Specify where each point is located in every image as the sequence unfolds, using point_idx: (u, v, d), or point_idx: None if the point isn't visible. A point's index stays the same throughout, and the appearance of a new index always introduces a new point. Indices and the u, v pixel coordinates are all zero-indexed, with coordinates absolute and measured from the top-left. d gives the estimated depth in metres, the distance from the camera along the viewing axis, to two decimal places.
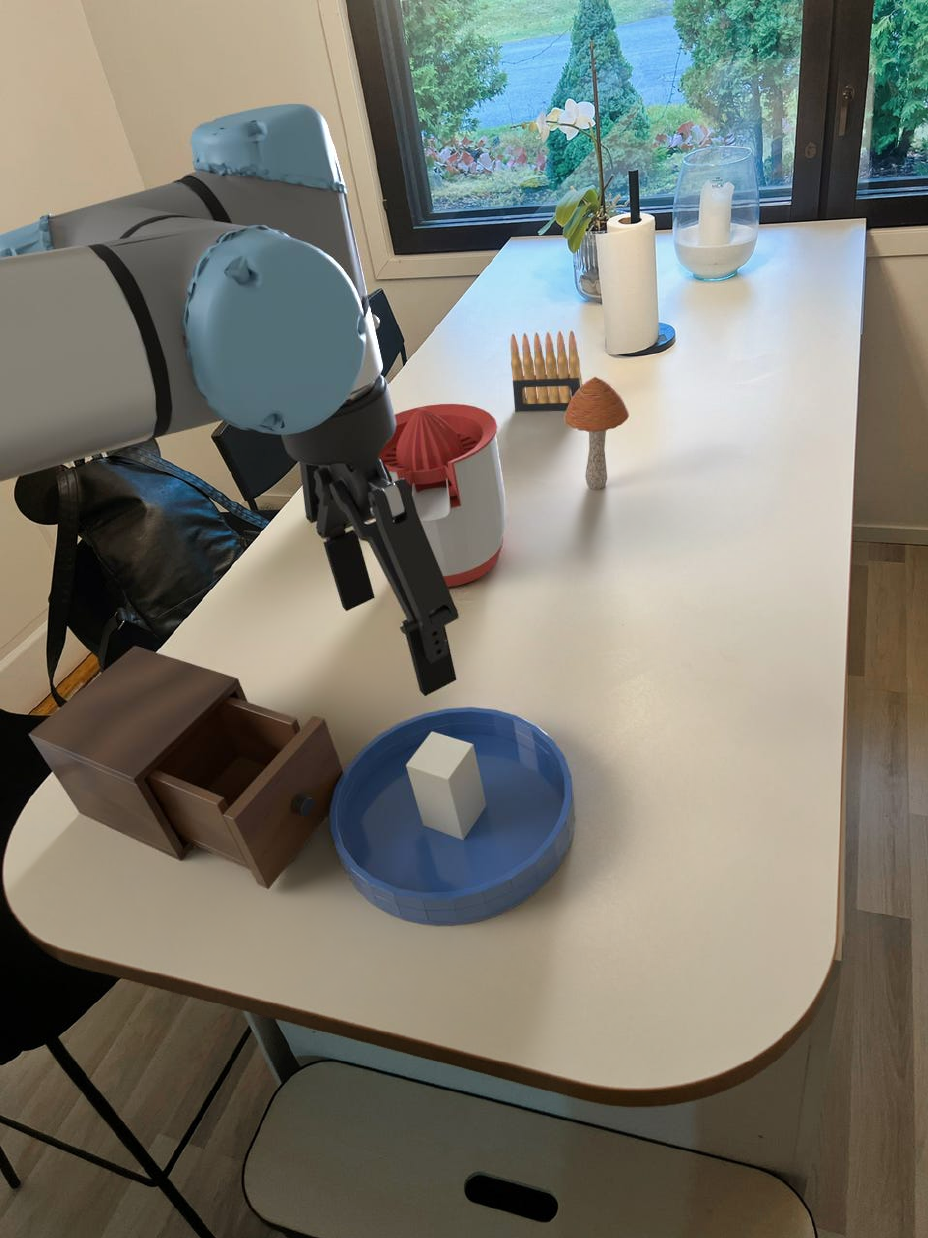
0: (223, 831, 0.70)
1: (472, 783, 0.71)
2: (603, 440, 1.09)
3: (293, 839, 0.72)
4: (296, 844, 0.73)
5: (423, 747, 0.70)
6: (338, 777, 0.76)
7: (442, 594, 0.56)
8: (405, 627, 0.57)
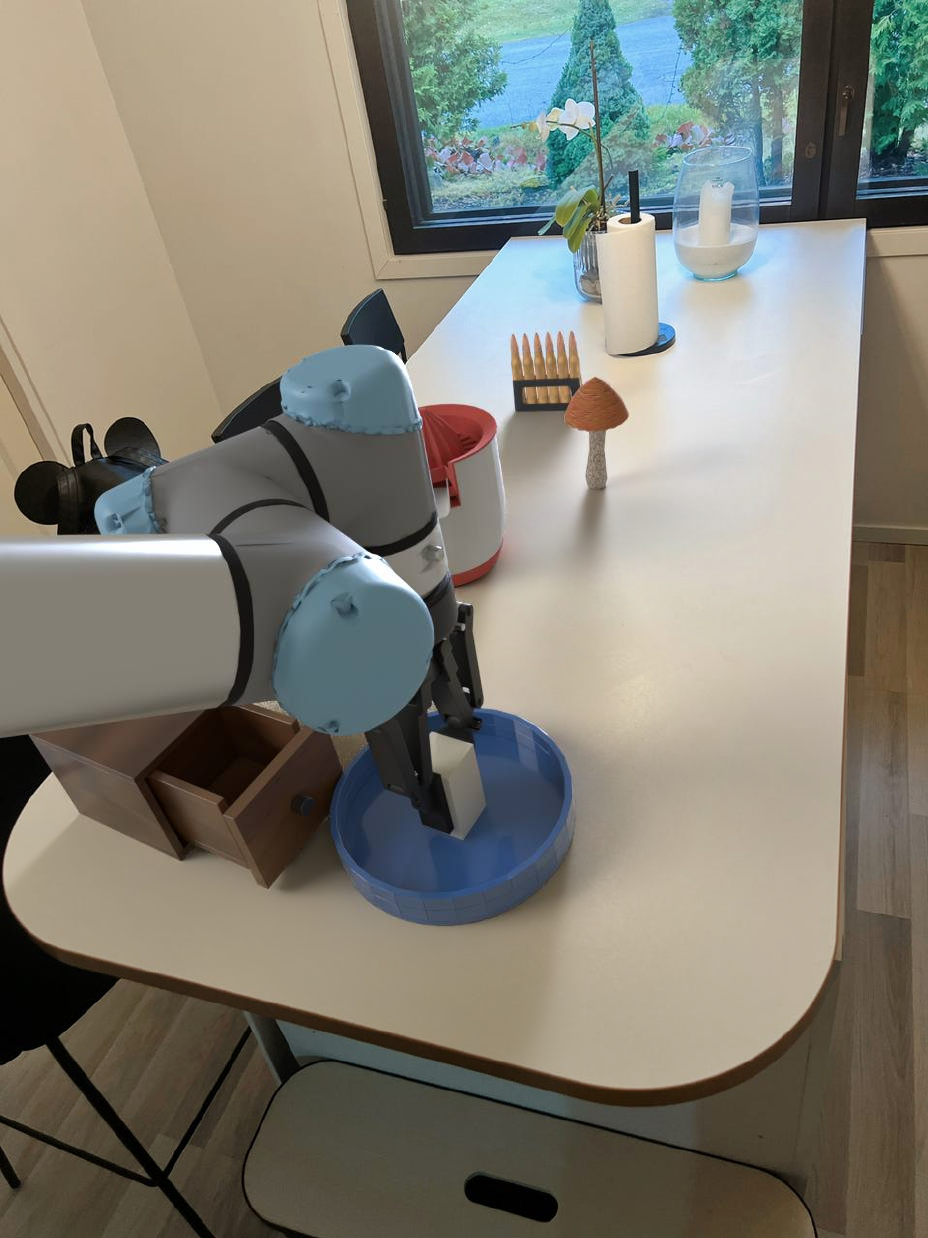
0: (223, 831, 0.70)
1: (472, 783, 0.71)
2: (603, 440, 1.09)
3: (293, 839, 0.72)
4: (296, 844, 0.73)
5: None
6: (338, 777, 0.76)
7: (400, 782, 0.63)
8: None
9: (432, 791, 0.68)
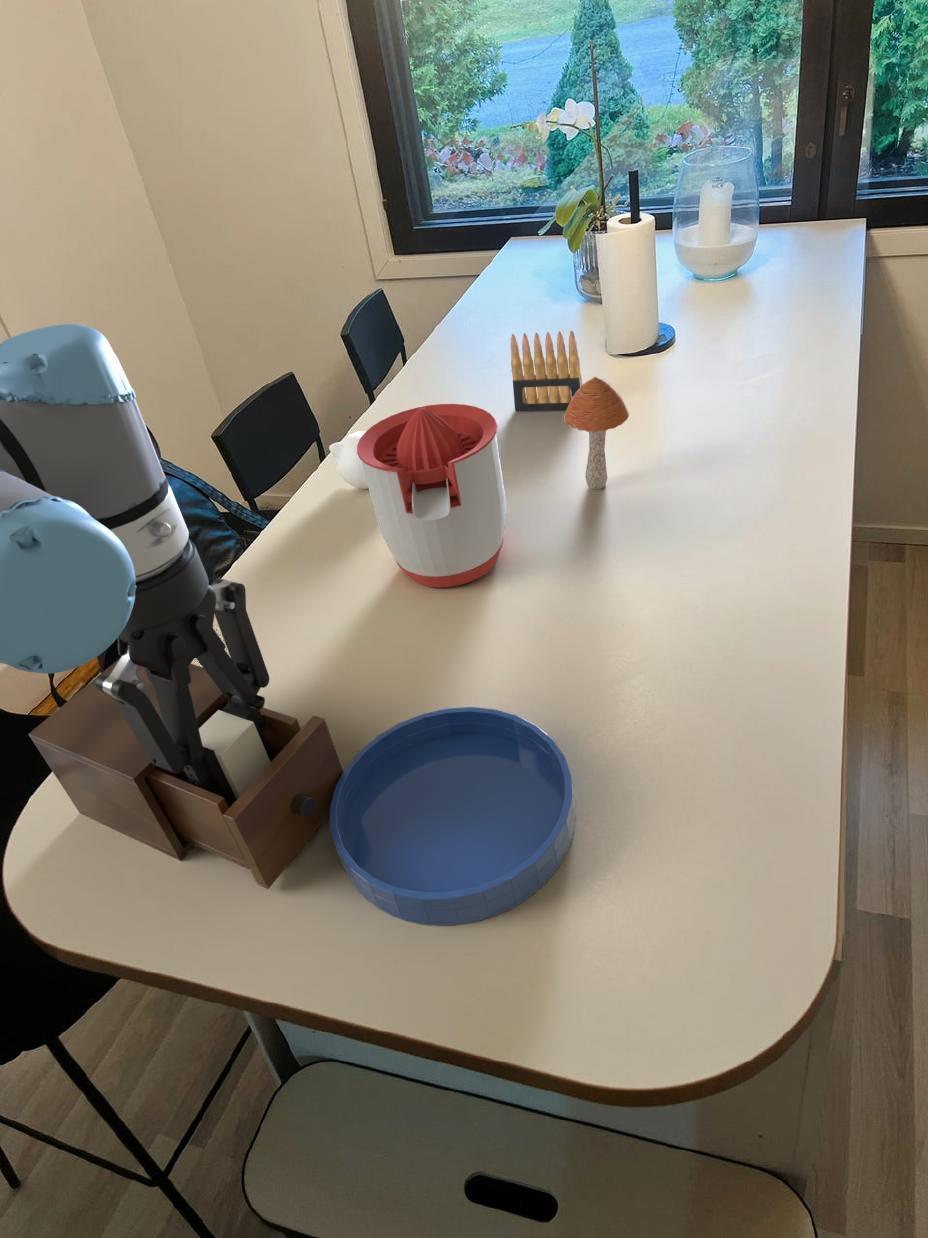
0: (223, 831, 0.70)
1: (255, 760, 0.72)
2: (603, 440, 1.09)
3: (293, 839, 0.72)
4: (296, 844, 0.73)
5: (206, 725, 0.71)
6: (338, 777, 0.76)
7: (161, 757, 0.65)
8: None
9: (207, 767, 0.69)
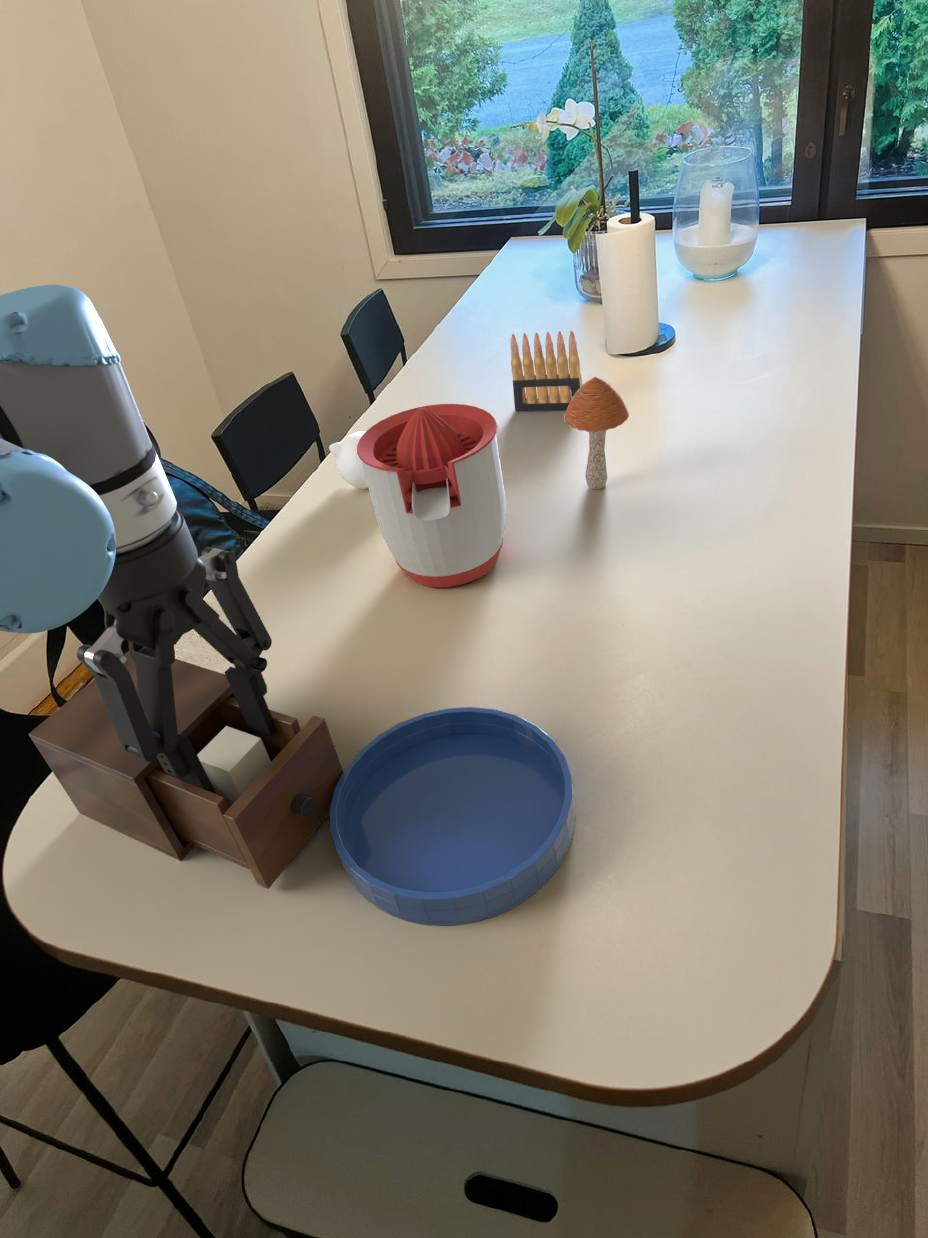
0: (223, 831, 0.70)
1: None
2: (603, 440, 1.09)
3: (293, 839, 0.72)
4: (296, 844, 0.73)
5: (214, 741, 0.73)
6: (338, 777, 0.76)
7: (134, 741, 0.62)
8: None
9: (182, 756, 0.67)
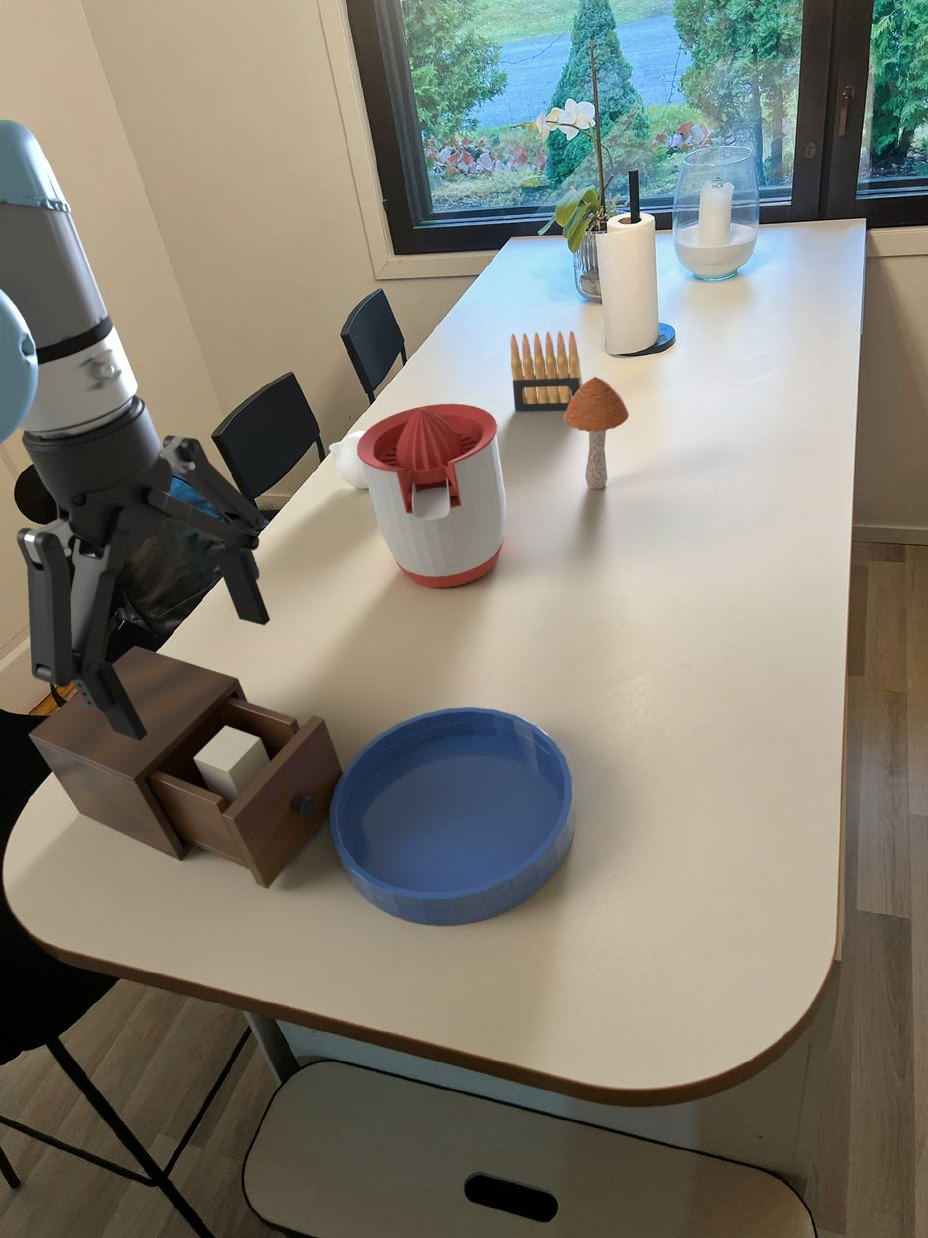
0: (222, 830, 0.70)
1: None
2: (603, 440, 1.09)
3: (292, 839, 0.72)
4: (295, 844, 0.73)
5: (213, 740, 0.73)
6: (337, 777, 0.76)
7: (50, 656, 0.54)
8: None
9: (105, 685, 0.58)
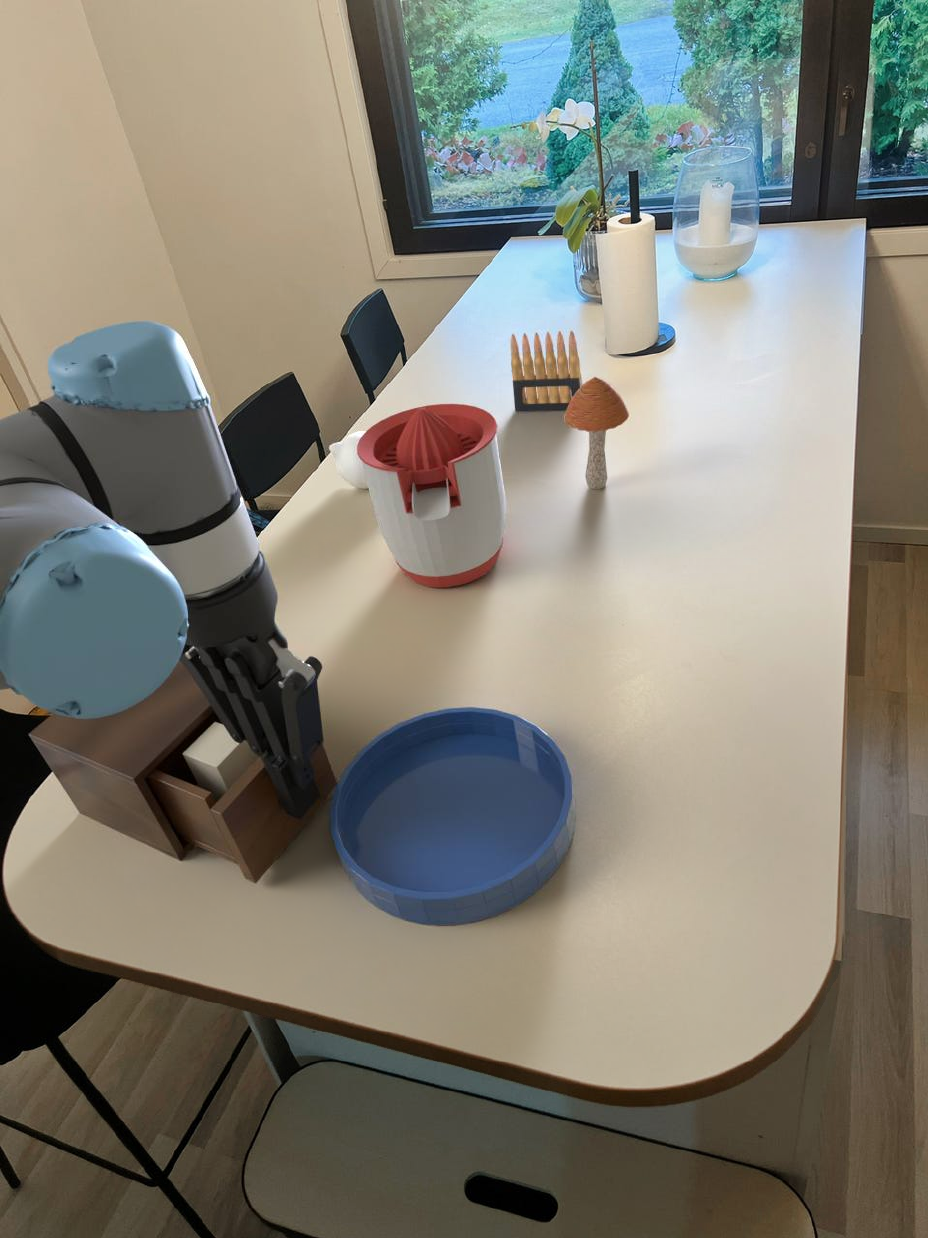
0: (211, 825, 0.70)
1: None
2: (603, 440, 1.09)
3: (281, 834, 0.73)
4: (284, 839, 0.73)
5: (202, 736, 0.73)
6: (326, 773, 0.76)
7: (318, 733, 0.64)
8: (280, 768, 0.65)
9: None
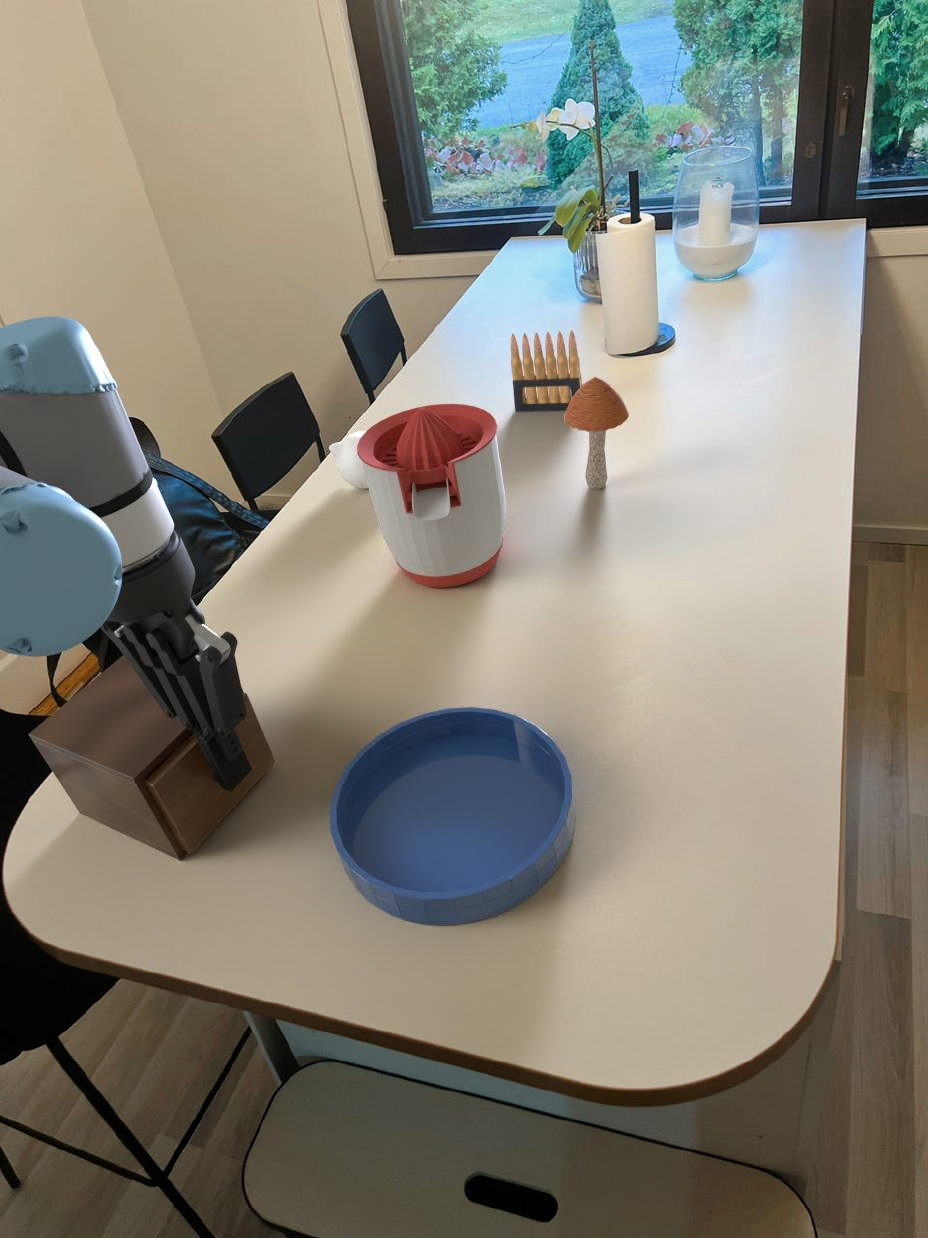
0: None
1: None
2: (603, 440, 1.09)
3: (217, 807, 0.76)
4: (220, 812, 0.77)
5: None
6: (263, 750, 0.80)
7: (240, 706, 0.68)
8: (206, 740, 0.68)
9: None
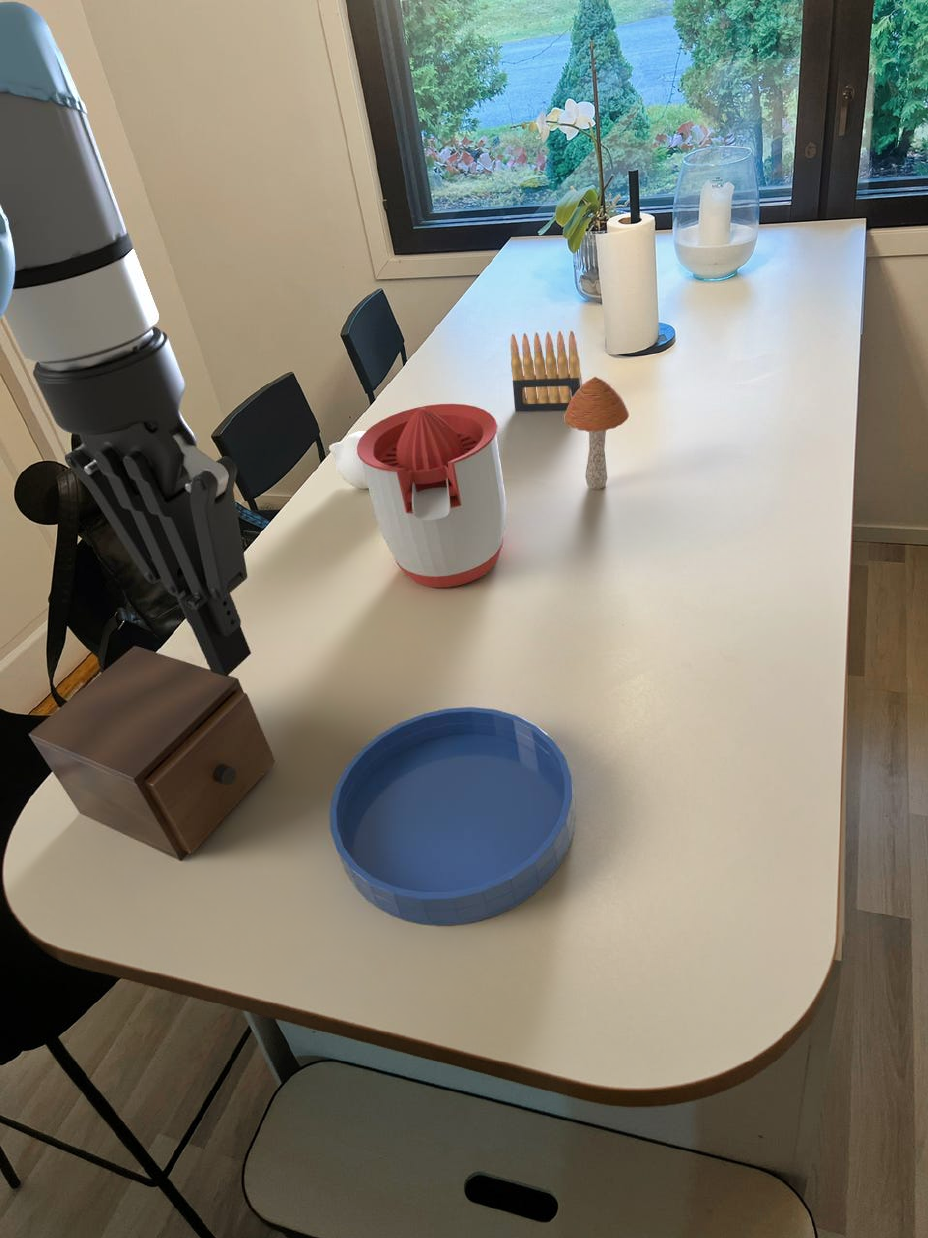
0: None
1: None
2: (603, 440, 1.09)
3: (217, 807, 0.76)
4: (220, 812, 0.77)
5: None
6: (263, 750, 0.80)
7: (239, 562, 0.56)
8: (197, 605, 0.56)
9: None
